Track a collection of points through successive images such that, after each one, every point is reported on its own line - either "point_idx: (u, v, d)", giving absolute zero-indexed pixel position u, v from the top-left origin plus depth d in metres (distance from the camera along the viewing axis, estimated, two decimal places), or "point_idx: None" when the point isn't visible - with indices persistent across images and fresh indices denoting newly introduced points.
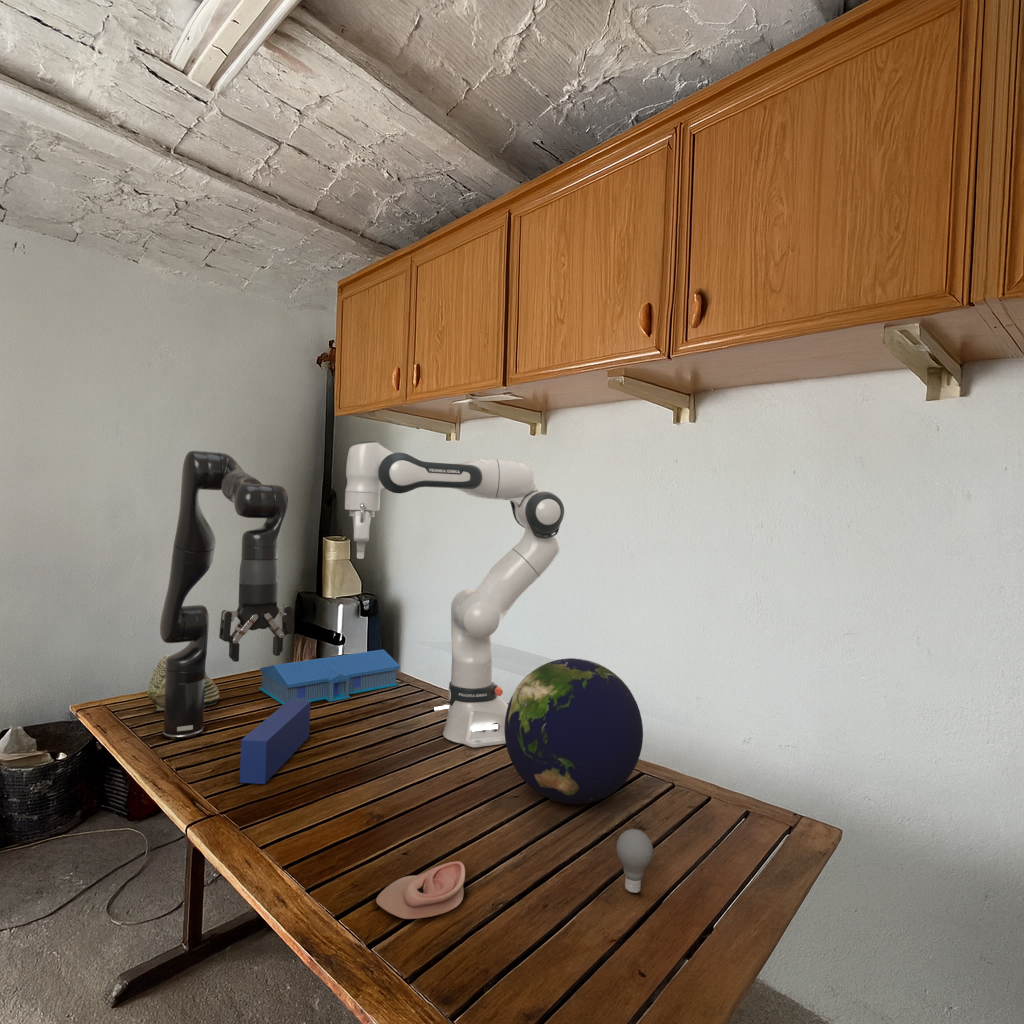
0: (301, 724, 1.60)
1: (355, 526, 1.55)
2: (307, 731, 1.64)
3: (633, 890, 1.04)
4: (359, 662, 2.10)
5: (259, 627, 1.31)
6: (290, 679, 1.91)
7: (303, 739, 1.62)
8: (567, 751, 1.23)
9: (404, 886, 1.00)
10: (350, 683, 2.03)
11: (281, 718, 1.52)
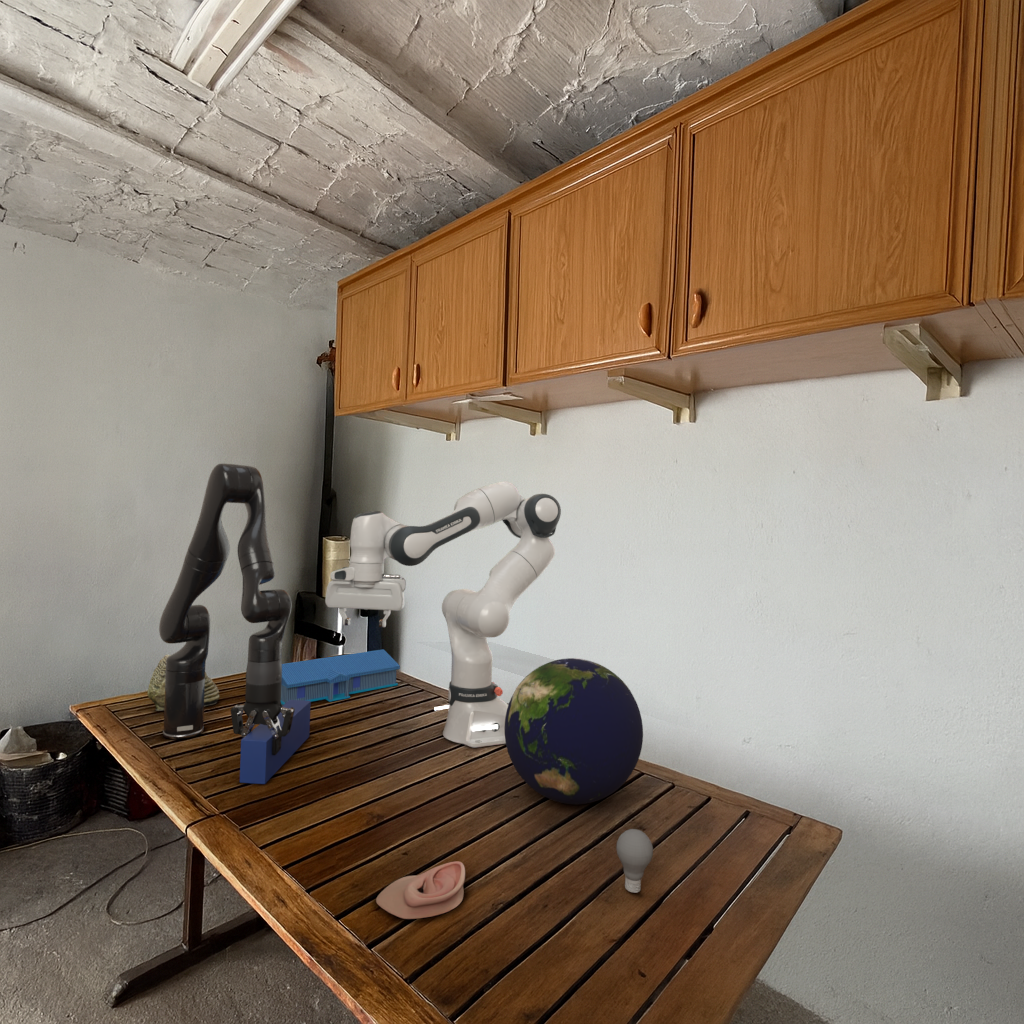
0: (301, 724, 1.60)
1: (401, 596, 1.63)
2: (307, 731, 1.64)
3: (633, 890, 1.04)
4: (359, 662, 2.10)
5: (260, 722, 1.42)
6: (290, 679, 1.91)
7: (303, 739, 1.62)
8: (567, 751, 1.23)
9: (404, 886, 1.00)
10: (350, 683, 2.03)
11: (281, 718, 1.52)
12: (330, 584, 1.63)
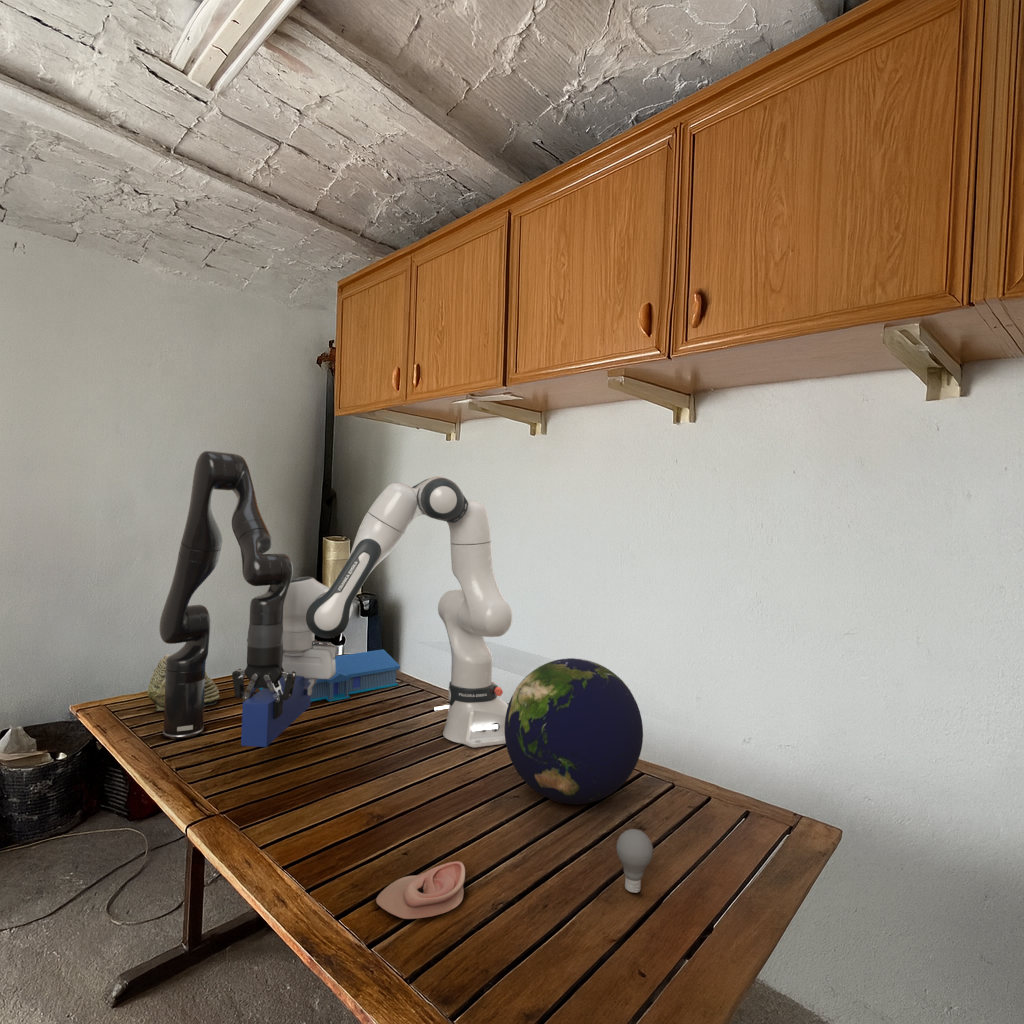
0: (302, 692, 1.60)
1: (331, 665, 1.60)
2: (308, 700, 1.64)
3: (633, 890, 1.04)
4: (359, 662, 2.10)
5: (262, 686, 1.41)
6: None
7: (304, 708, 1.62)
8: (567, 751, 1.23)
9: (404, 886, 1.00)
10: (350, 683, 2.03)
11: (282, 684, 1.52)
12: None
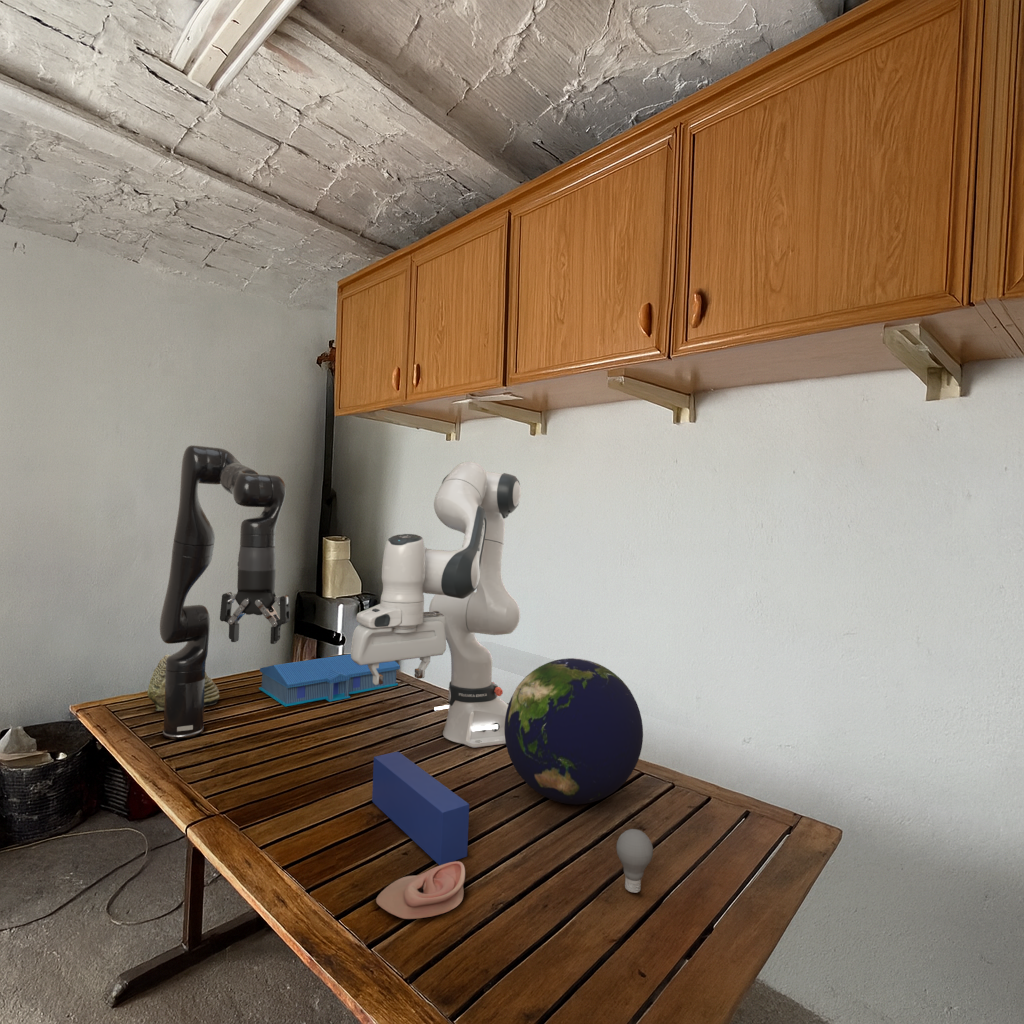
0: None
1: None
2: None
3: (633, 890, 1.04)
4: None
5: (253, 612, 1.35)
6: (290, 679, 1.91)
7: None
8: (567, 751, 1.23)
9: (404, 886, 1.00)
10: (350, 683, 2.03)
11: (419, 777, 1.24)
12: (366, 634, 1.23)
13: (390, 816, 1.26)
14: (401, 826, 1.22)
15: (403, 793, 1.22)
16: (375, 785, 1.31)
